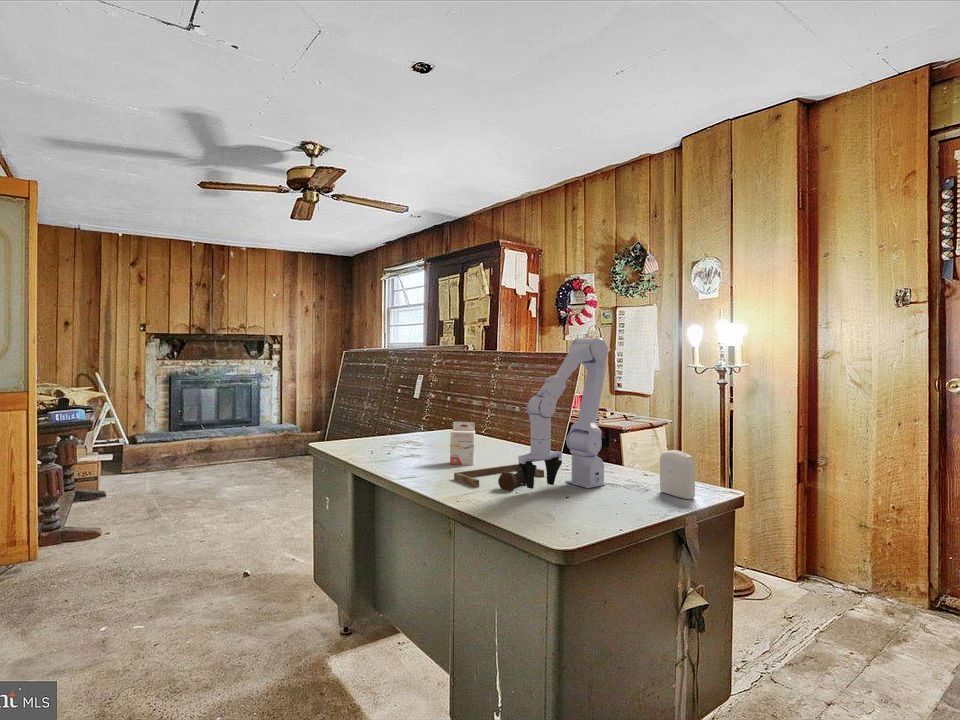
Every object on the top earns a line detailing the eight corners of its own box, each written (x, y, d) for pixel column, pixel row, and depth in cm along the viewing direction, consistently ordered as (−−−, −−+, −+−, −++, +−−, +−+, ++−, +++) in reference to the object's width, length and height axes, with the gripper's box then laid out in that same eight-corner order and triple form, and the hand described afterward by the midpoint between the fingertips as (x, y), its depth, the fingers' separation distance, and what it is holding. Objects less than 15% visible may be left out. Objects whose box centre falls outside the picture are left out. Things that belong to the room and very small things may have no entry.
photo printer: (657, 491, 151) (657, 448, 151) (668, 490, 153) (668, 447, 153) (685, 500, 142) (686, 454, 142) (697, 498, 144) (697, 453, 144)
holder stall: (544, 476, 170) (544, 470, 170) (476, 487, 155) (476, 480, 155) (519, 469, 180) (519, 463, 180) (454, 479, 166) (454, 472, 166)
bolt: (532, 487, 164) (507, 495, 152) (520, 477, 167) (495, 484, 154) (541, 471, 163) (517, 479, 150) (528, 461, 165) (503, 468, 153)
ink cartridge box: (449, 464, 188) (449, 423, 188) (451, 462, 193) (452, 421, 193) (473, 465, 187) (474, 423, 187) (475, 462, 192) (475, 421, 192)
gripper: (550, 434, 159) (550, 480, 159) (511, 438, 151) (511, 486, 151) (566, 437, 153) (566, 484, 153) (527, 442, 145) (527, 491, 145)
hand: (540, 486), depth 151 cm, fingers open, 7 cm apart
